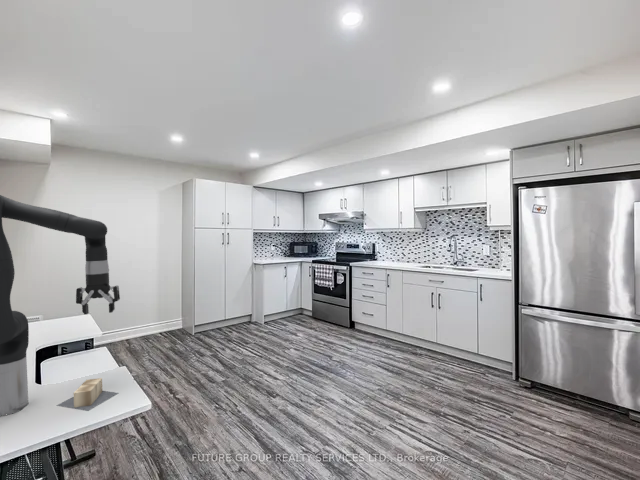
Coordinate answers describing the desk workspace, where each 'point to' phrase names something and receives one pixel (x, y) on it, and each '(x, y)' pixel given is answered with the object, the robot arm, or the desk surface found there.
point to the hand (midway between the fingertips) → (98, 313)
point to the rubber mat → (100, 399)
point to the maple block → (88, 392)
